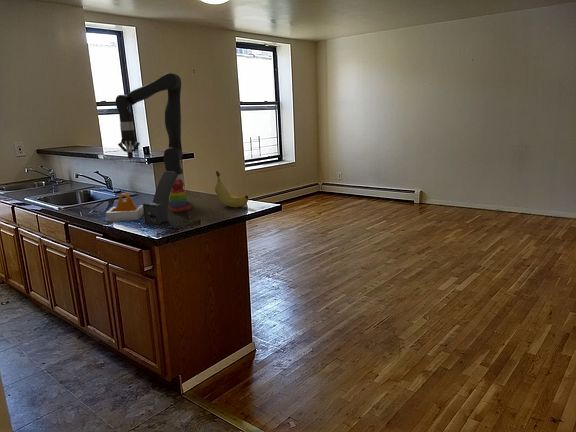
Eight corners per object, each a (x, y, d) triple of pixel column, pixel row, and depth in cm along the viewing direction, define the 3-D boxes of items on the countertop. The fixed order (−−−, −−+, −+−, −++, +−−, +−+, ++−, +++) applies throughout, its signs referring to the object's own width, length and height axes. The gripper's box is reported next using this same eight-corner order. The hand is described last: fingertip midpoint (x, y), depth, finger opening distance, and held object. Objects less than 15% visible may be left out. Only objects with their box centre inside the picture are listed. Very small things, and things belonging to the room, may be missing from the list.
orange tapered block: (114, 218, 234) (111, 196, 232) (116, 215, 241) (114, 193, 238) (135, 216, 237) (133, 194, 234) (137, 213, 243) (134, 192, 241)
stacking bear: (192, 208, 251) (190, 177, 247) (183, 212, 242) (180, 180, 238) (176, 207, 255) (173, 177, 250) (166, 211, 245) (163, 180, 241)
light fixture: (184, 217, 231) (180, 171, 225) (158, 225, 217) (153, 176, 211) (170, 215, 236) (165, 170, 230) (144, 222, 222) (138, 175, 216)
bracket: (144, 213, 243) (143, 205, 242) (138, 219, 229) (137, 211, 228) (114, 214, 242) (113, 206, 240) (106, 221, 228) (105, 213, 227)
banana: (251, 207, 249) (249, 172, 244) (245, 209, 244) (243, 173, 239) (220, 203, 260) (218, 170, 255) (214, 205, 255) (211, 171, 251)
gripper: (114, 130, 258) (117, 159, 262) (137, 129, 259) (140, 158, 263) (117, 129, 265) (121, 158, 269) (140, 128, 266) (143, 157, 271)
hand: (130, 158), depth 266 cm, fingers closed
